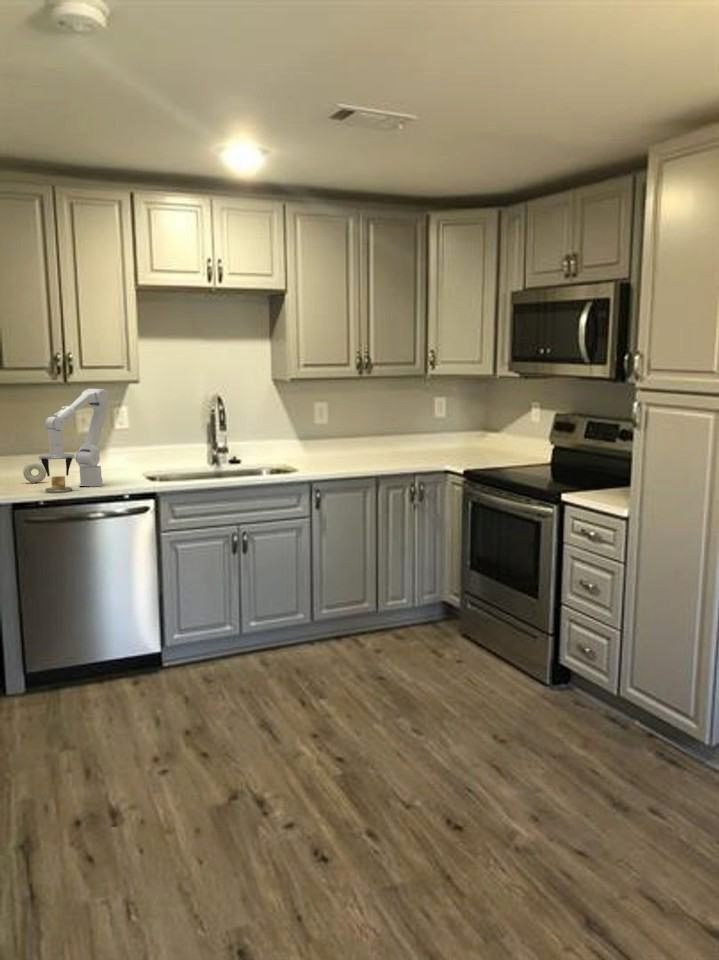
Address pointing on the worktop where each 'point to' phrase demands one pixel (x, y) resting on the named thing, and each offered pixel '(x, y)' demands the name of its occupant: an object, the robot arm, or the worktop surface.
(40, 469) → the donut
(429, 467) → the worktop surface
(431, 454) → the worktop surface
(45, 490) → the plate
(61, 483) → the cube
